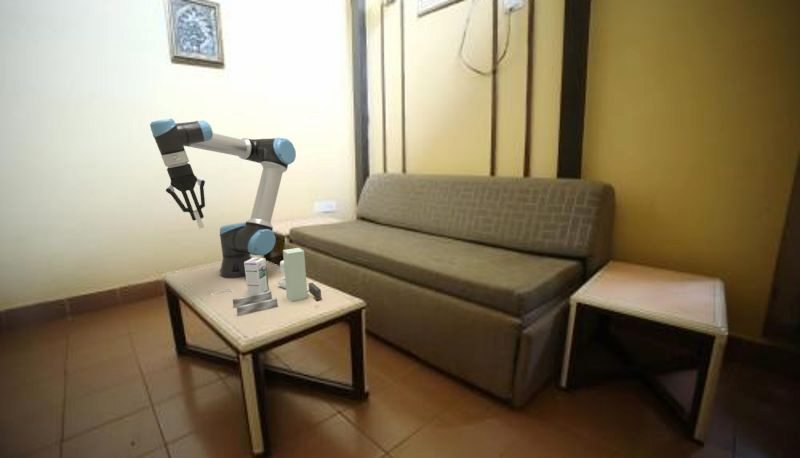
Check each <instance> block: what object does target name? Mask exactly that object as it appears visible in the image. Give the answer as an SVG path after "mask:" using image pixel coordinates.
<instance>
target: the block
mask: <svg viewBox="0 0 800 458" xmlns="http://www.w3.org/2000/svg"><path fill="white" fill-rule="evenodd" d="M282 256H283V260H284V270H285V273H284V279H285V282H286V289H285V291H286V292H285V293H286V297H287V298H288V299H289V301H290V302H291V303H292V302H296V301H300V300H303V299H308V293H307V291H308V284H307V274H306V273H307V271H306V259H305V250H304V249H302V248H300V247H294V248H289V249H288V248H287V249H283V250H282Z"/></svg>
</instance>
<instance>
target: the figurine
mask: <svg viewBox="0 0 800 458" xmlns="http://www.w3.org/2000/svg"><path fill="white" fill-rule="evenodd" d="M279 269H280V270H279V271H280V273H281V274H285V270H284V259H283V260H281V261H280V262H279ZM276 282H277V284H278V285H279V287H280V288H283V289H285V290H286V282H285V278H283V279H280V280H277V281H276Z"/></svg>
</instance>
